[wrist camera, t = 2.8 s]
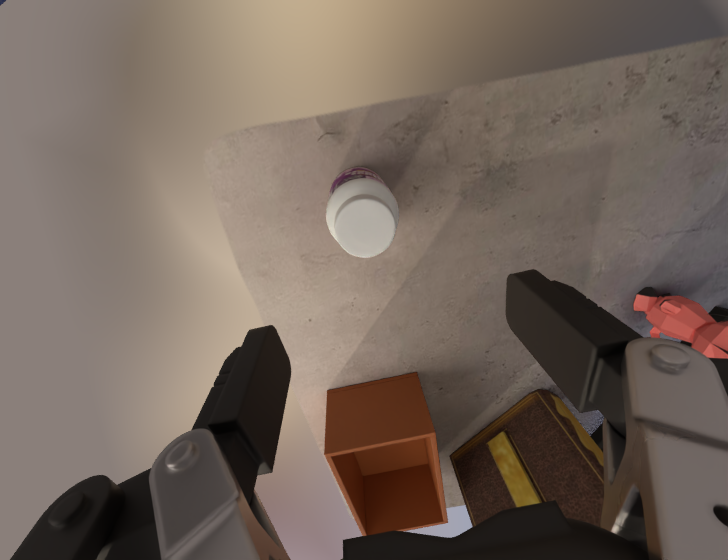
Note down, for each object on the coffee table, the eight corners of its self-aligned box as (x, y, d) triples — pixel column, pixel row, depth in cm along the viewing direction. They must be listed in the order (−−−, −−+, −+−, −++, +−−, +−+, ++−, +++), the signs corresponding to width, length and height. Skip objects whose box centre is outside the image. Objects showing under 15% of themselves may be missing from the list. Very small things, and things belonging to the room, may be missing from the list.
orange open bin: (327, 390, 39) (324, 454, 31) (416, 371, 39) (435, 432, 31) (360, 474, 49) (363, 538, 42) (431, 460, 49) (448, 522, 41)
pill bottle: (387, 165, 26) (411, 186, 18) (386, 223, 29) (405, 265, 20) (326, 166, 26) (320, 188, 17) (330, 224, 28) (326, 269, 20)
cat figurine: (690, 287, 35) (840, 358, 25) (648, 331, 38) (766, 411, 28) (648, 272, 34) (788, 340, 23) (607, 319, 37) (715, 398, 26)
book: (534, 382, 41) (754, 677, 19) (569, 403, 44) (797, 681, 22) (432, 463, 49) (507, 738, 27) (468, 476, 52) (562, 735, 30)
